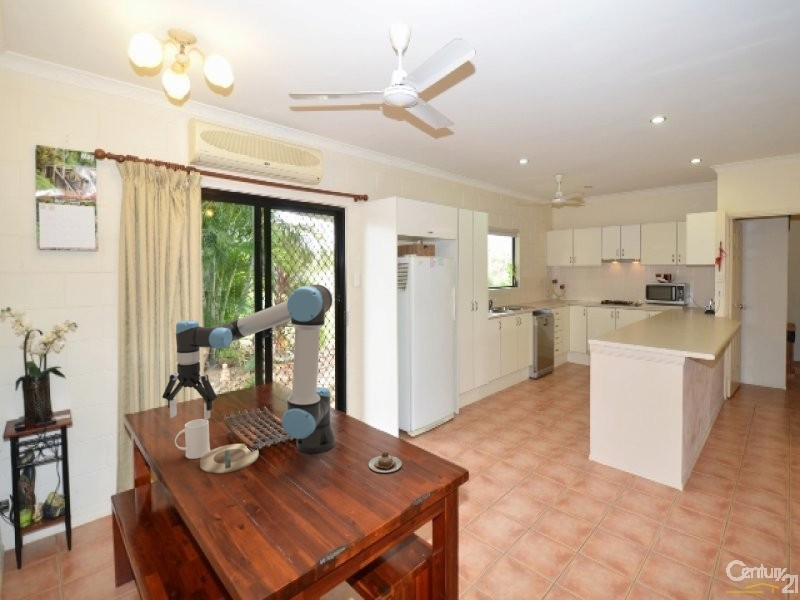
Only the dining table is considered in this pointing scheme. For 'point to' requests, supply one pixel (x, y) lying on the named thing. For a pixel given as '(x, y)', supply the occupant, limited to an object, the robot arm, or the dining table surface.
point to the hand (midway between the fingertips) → (190, 417)
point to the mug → (196, 438)
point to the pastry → (385, 463)
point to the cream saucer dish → (228, 458)
